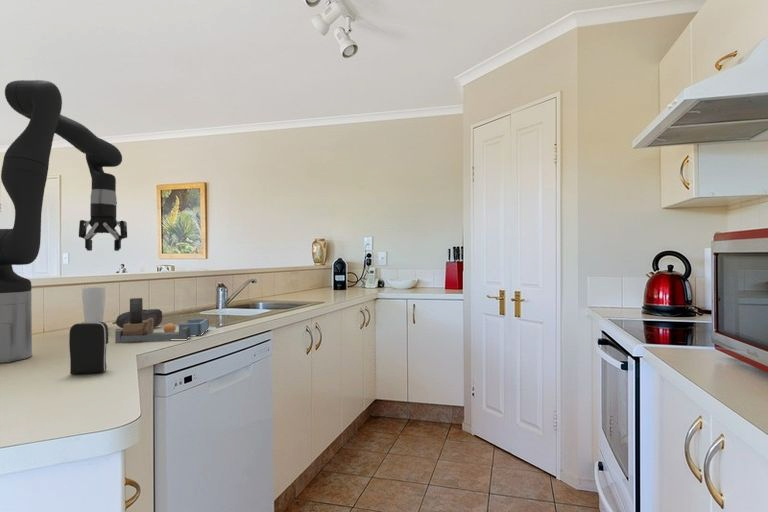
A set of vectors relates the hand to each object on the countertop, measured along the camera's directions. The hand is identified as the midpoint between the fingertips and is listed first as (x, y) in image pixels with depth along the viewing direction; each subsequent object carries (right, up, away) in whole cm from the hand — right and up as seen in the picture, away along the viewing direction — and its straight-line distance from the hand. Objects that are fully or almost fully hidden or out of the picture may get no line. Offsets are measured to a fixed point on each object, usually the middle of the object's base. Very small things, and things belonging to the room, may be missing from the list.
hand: (103, 250), depth 147 cm
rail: (+25, -28, -15) cm, 41 cm away
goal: (+33, -28, -3) cm, 43 cm away
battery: (+30, -28, -50) cm, 65 cm away
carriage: (+20, -28, -11) cm, 36 cm away
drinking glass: (-6, -28, +5) cm, 29 cm away
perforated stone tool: (+9, -28, +6) cm, 30 cm away
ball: (+25, -26, -4) cm, 37 cm away
